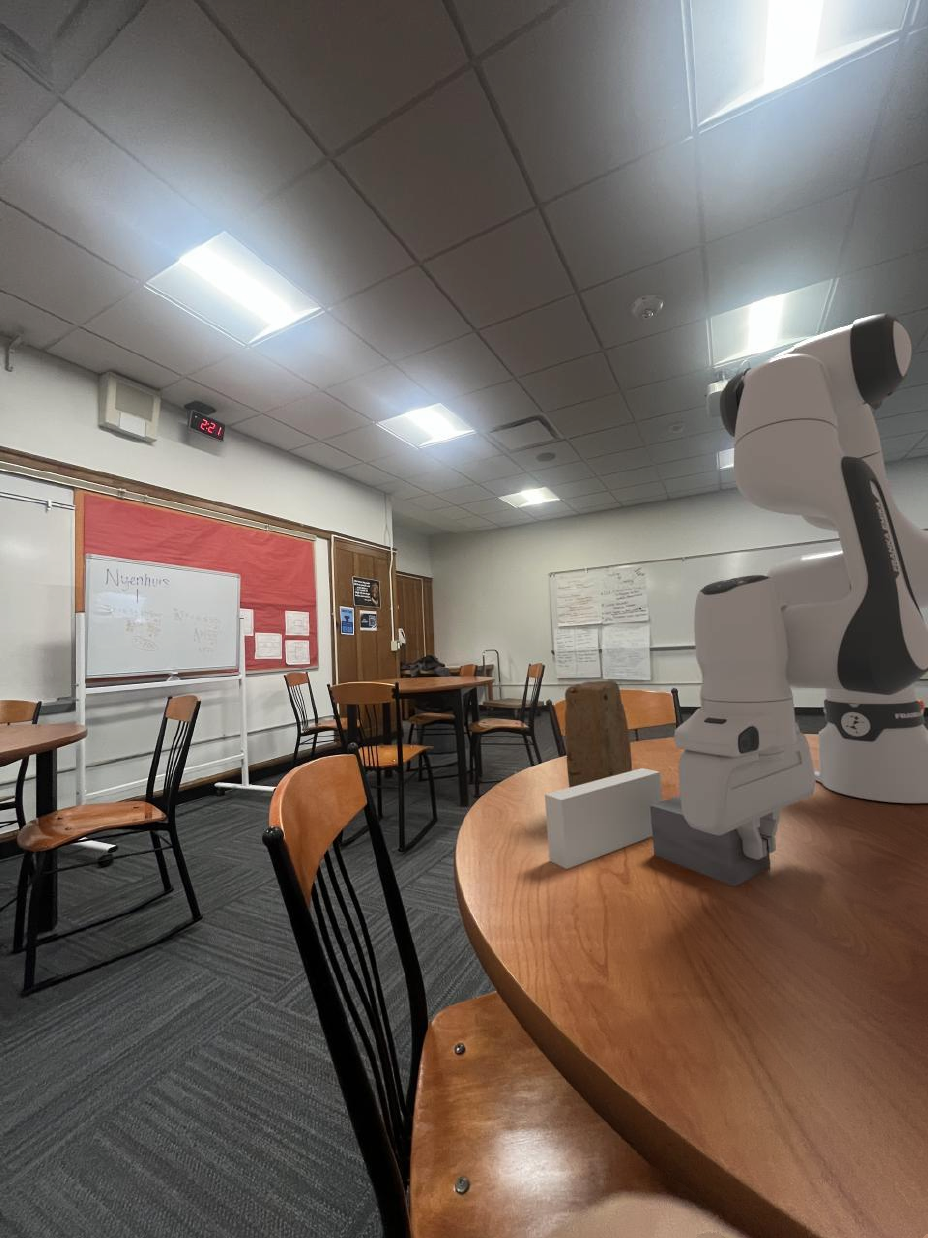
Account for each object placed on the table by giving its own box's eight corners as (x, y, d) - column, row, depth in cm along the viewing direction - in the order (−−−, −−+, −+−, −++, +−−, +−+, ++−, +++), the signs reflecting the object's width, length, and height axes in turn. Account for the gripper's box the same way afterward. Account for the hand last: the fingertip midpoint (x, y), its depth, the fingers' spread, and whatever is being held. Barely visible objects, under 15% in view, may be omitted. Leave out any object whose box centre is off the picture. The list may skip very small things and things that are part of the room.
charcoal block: (690, 840, 63) (685, 793, 63) (770, 868, 54) (765, 813, 55) (654, 855, 59) (650, 805, 60) (734, 887, 51) (728, 828, 51)
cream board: (647, 825, 69) (642, 768, 69) (665, 831, 66) (660, 771, 67) (549, 860, 60) (544, 794, 60) (566, 869, 57) (561, 800, 57)
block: (611, 824, 70) (600, 685, 71) (565, 815, 75) (556, 685, 76) (641, 803, 78) (631, 678, 79) (598, 796, 83) (589, 679, 84)
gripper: (767, 710, 61) (778, 822, 60) (663, 734, 50) (675, 871, 49) (824, 714, 56) (838, 837, 55) (722, 742, 45) (736, 896, 44)
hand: (760, 854), depth 52 cm, fingers closed, pressing on charcoal block
